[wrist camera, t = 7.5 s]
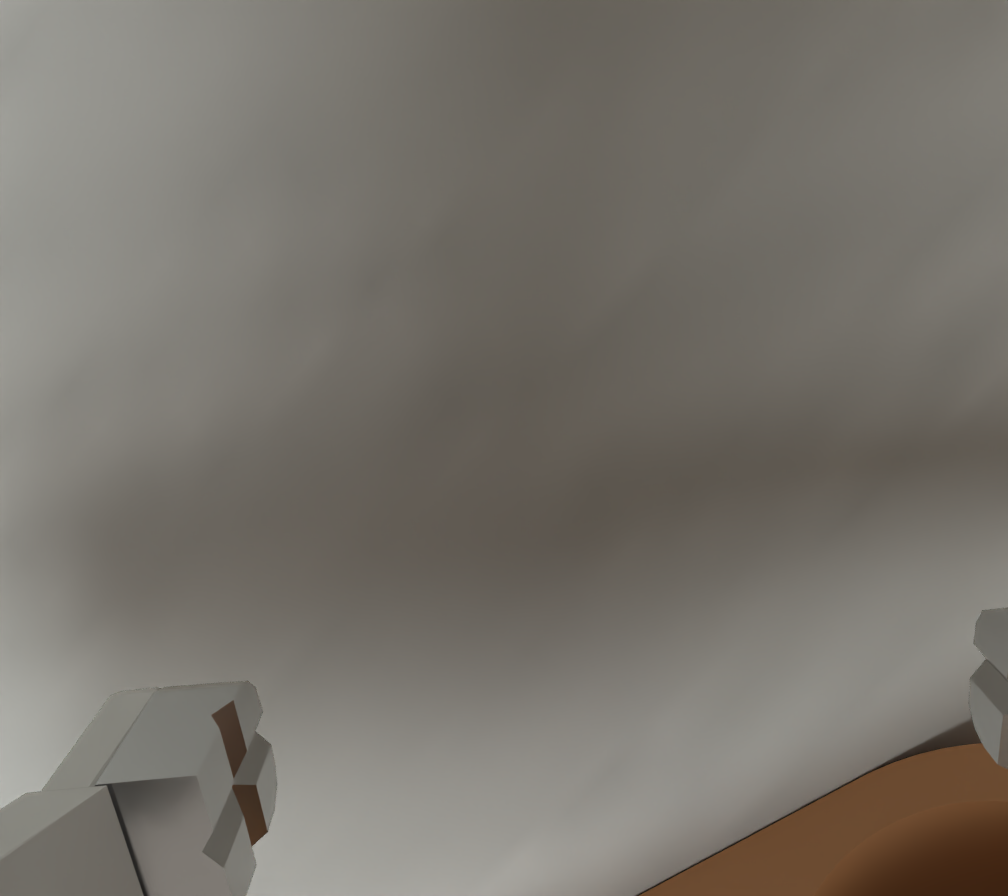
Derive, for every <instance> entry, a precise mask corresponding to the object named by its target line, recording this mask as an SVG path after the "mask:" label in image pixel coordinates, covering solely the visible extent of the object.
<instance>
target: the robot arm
mask: <svg viewBox="0 0 1008 896" xmlns="http://www.w3.org/2000/svg"><path fill="white" fill-rule="evenodd" d="M973 644H974V645H975V646H976V647H977V649H978V650H979V651H980V652H981V654H982V655H983V656H984V657H985V659H986V660H985V661H984V662H983V663H982V664H981V666H980V667H979V668H978V669H977V670H976V671H975V673H974V674H973V675H972V676H971V677H970V688H969V707H970V711H971V716H972V720H973V724H974V728H975V731H976V732H977V734H978V736H979V738H980V740H981V742H982V744H983V746H984V748H985V749H986V750H987V752H988V753H989V754H990V755H991V757H992V758H993V759H994V761H995V762H996V763H997V764H998V765H1000V766H1002V767H1004V768H1006V769H1008V607H1007V608H998V609H990V610H982V612H981V614H980V616H979V618H978V620H977V622H976V625H975V634H974V643H973ZM262 713H263V710H262V707H261V703H260V700H259V696H258V693H257V689H256V687H255V686H254V685H253V684H251V683H250V682H249V681H236V682H223V683H210V684H197V685H183V686H170V687H163V688H159V687H155V688H146V689H136V690H127V691H120V692H118V693H115V694H113V695H110V697H109V698H108V699H107V701H106V702H105V703H104V705H103V706H102V708H101V709H100V710H99V712H98V713H97V714H96V716H95V717H94V719H93V720H92V721H91V723H90V724H89V726H88V727H87V728H86V730H85V731H84V732H83V734H82V735H81V737H80V738H79V739H78V741H77V742H76V744H75V745H74V746H73V748H72V749H71V751H70V752H69V753H68V755H67V756H66V757H65V759H64V760H63V762H62V763H61V764H60V766H59V767H58V769H57V770H56V771H55V773H54V774H53V775H52V777H51V778H50V780H49V781H48V782H47V784H46V785H45V787H44V788H43V789H42V791H40V792H31V793H25V794H24V795H22V796H21V797H19V798H18V799H16V800H14V801H13V802H11V803H10V804H8V805H7V806H5V807H3V808H2V809H0V896H246V894H247V891H248V889H249V886H250V883H251V880H252V877H253V874H254V871H255V868H256V861H255V857H254V853H253V850H252V846H253V845H254V844H255V843H256V842H257V841H258V840H259V839H260V838H261V837H263V836H264V835H265V834H266V833H267V832H268V830H269V826H270V823H271V820H272V817H273V814H274V810H275V800H276V790H277V777H276V765H275V759H274V755H273V751H272V746H271V744H270V743H269V742H268V741H266V740H265V739H264V738H263V737H262V736H261V735H259V734H258V733H257V732H256V731H255V730H256V728H257V726H258V723H259V721H260V718H261V716H262Z"/></svg>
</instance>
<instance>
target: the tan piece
mask: <svg viewBox="0 0 1008 896" xmlns="http://www.w3.org/2000/svg"><path fill="white" fill-rule="evenodd" d="M639 896H1008V769H1006V768H1004V767H1002V766H1000V765H998V764H997V763H996V762H995V761H994V759H993V758H992V757H991V755H990V754H989V753H988V752H987V750H986V749H985V748H984V746H983V744H982V743H979V744H967V745H961V746H954V747H948V748H942V749H938V750H934V751H929V752H925V753H921V754H917V755H914V756H911V757H908V758H905V759H902V760H899V761H896V762H893V763H891V764H889V765H886V766H884V767H882V768H879V769H877V770H875V771H872V772H870V773H868V774H866V775H864V776H862V777H861V778H859V779H857V780H855V781H853V782H851V783H849V784H847V785H845V786H844V787H842V788H840V789H838V790H836V791H834V792H832V793H830V794H829V795H827V796H825V797H823V798H821V799H819V800H817V801H815V802H814V803H812V804H810V805H808V806H806V807H804V808H802V809H800V810H799V811H797V812H795V813H793V814H791V815H789V816H787V817H785V818H784V819H782V820H780V821H778V822H776V823H774V824H772V825H770V826H769V827H767V828H765V829H763V830H761V831H759V832H757V833H755V834H753V835H752V836H750V837H748V838H746V839H744V840H742V841H740V842H738V843H737V844H735V845H733V846H731V847H729V848H727V849H725V850H723V851H722V852H720V853H718V854H716V855H714V856H712V857H710V858H708V859H707V860H705V861H703V862H701V863H699V864H697V865H695V866H693V867H692V868H690V869H688V870H686V871H684V872H682V873H680V874H678V875H677V876H675V877H673V878H671V879H669V880H667V881H665V882H663V883H662V884H660V885H658V886H656V887H654V888H652V889H650V890H648V891H646V892H645V893H643V894H641V895H639Z"/></svg>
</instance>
